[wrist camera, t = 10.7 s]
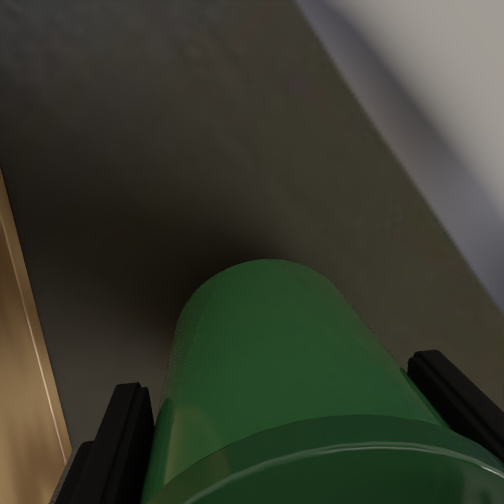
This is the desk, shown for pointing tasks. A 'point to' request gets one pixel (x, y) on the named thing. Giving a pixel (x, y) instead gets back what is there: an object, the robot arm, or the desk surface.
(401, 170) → the desk surface
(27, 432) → the box
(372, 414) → the pot
